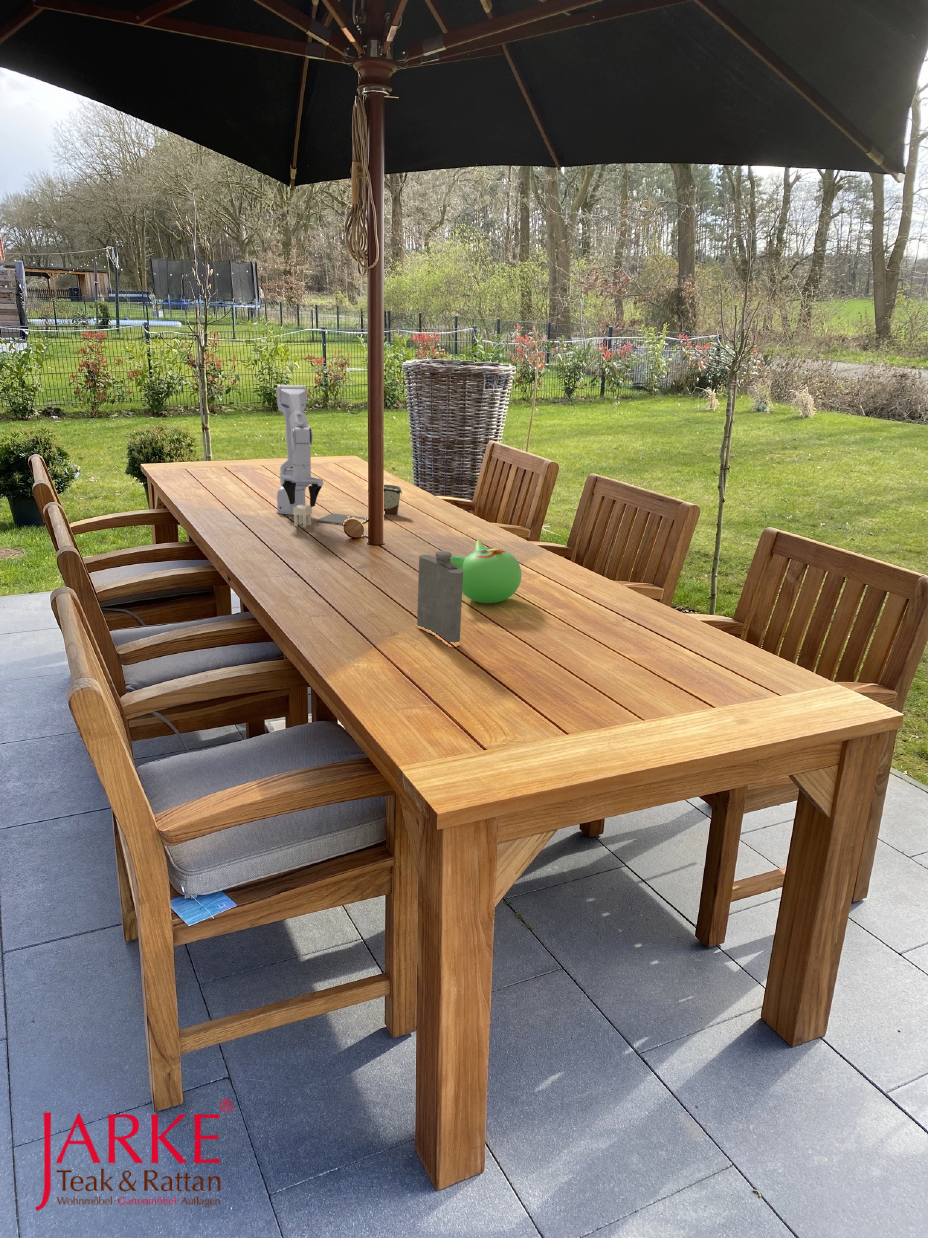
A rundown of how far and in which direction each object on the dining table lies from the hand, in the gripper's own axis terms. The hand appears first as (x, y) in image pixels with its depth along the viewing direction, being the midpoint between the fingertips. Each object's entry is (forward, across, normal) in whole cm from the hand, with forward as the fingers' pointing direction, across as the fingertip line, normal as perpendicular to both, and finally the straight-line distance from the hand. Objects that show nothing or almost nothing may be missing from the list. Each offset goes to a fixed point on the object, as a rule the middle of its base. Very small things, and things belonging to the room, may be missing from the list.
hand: (302, 505), depth 298 cm
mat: (+7, +9, +13) cm, 17 cm away
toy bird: (+8, +80, -49) cm, 94 cm away
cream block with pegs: (+7, 0, 0) cm, 7 cm away
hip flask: (+8, +78, -79) cm, 111 cm away
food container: (+7, +17, +31) cm, 36 cm away
